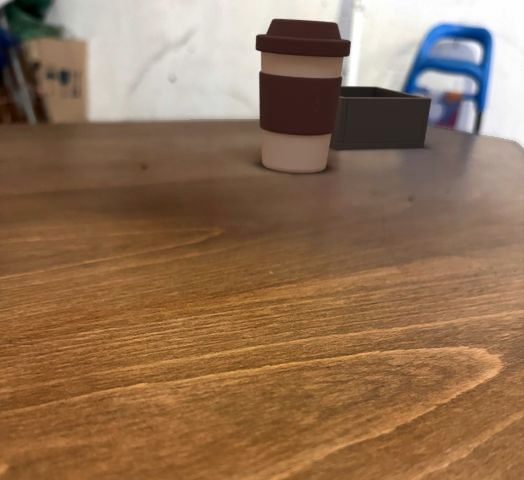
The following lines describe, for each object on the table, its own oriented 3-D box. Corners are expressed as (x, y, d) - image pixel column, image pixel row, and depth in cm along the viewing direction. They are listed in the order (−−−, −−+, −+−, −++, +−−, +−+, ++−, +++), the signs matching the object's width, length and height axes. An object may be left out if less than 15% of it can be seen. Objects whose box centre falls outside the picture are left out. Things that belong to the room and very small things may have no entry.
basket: (371, 131, 102) (376, 86, 99) (423, 148, 91) (431, 98, 88) (291, 133, 97) (294, 85, 94) (336, 151, 86) (342, 98, 83)
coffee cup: (232, 166, 74) (237, 16, 67) (281, 155, 82) (290, 18, 75) (308, 182, 69) (322, 22, 63) (352, 168, 77) (369, 24, 70)
